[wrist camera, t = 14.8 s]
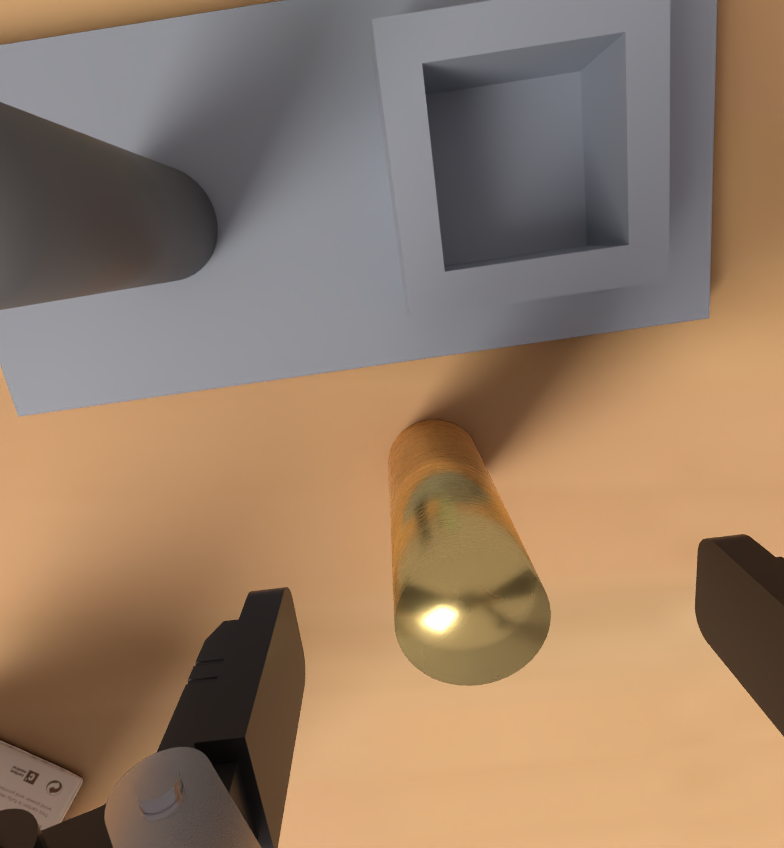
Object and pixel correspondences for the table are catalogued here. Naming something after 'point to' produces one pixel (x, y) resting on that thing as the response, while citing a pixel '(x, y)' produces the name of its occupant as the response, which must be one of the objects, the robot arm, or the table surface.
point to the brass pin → (458, 563)
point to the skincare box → (35, 786)
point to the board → (347, 188)
